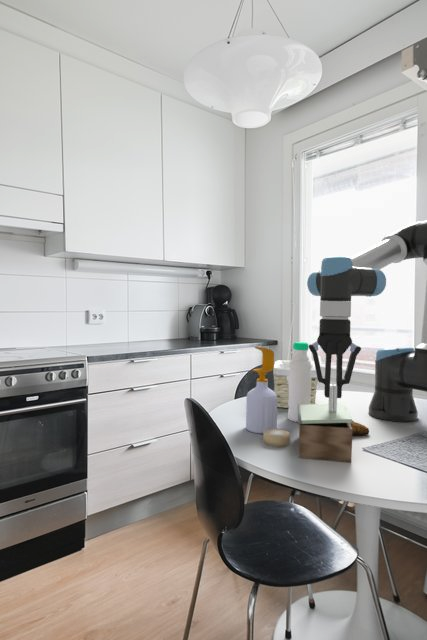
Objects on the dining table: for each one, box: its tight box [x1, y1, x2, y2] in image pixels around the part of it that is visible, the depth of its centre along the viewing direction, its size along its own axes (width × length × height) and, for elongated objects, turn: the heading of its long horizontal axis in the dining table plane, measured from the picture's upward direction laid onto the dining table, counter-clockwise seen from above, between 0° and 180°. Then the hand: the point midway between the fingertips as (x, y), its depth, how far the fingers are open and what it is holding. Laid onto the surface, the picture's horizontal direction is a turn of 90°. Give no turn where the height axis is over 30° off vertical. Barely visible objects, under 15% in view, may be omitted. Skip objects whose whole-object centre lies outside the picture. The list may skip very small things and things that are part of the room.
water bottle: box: [287, 341, 312, 423], centre depth 129 cm, size 7×7×25 cm
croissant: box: [350, 420, 370, 436], centre depth 116 cm, size 14×7×5 cm, turn 81°
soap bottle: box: [245, 346, 278, 435], centre depth 119 cm, size 9×9×25 cm
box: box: [298, 423, 353, 463], centre depth 104 cm, size 12×16×8 cm
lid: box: [297, 402, 353, 424], centre depth 104 cm, size 12×16×1 cm
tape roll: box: [262, 428, 291, 448], centre depth 108 cm, size 7×7×2 cm
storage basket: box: [272, 359, 319, 409], centre depth 153 cm, size 24×16×15 cm
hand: (332, 410), depth 103 cm, fingers closed
